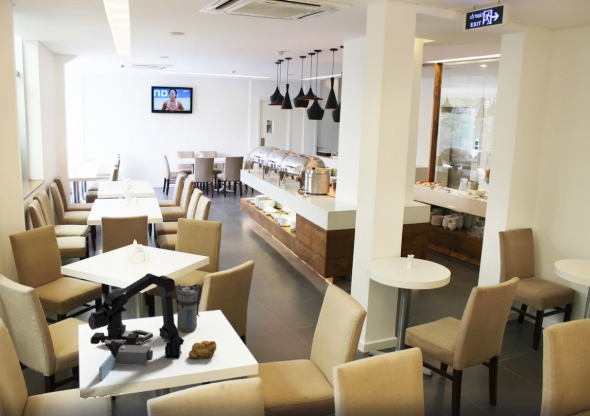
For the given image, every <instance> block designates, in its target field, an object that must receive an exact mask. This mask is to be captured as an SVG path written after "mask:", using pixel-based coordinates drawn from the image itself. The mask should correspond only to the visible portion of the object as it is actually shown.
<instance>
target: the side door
mask: <svg viewBox="0 0 590 416" xmlns="http://www.w3.org/2000/svg"><path fill="white" fill-rule="evenodd" d="M116 365H117V364H116V358H114V357H113V355H112V353H111V352H110V354H109V356H108V357H107V358H106V359H105V360H104V361H103V362H102V363H101V365H100V366H99V367H98V373H99V375H98V376H99V380H100V381H103V380H104V379H105V378H106V376H107V375H108V374H109V373H110V371H111V370H112V369H113V368H114V367H115V366H116Z"/></svg>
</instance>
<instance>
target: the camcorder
mask: <svg viewBox="0 0 590 416" xmlns="http://www.w3.org/2000/svg"><path fill="white" fill-rule="evenodd" d="M129 333H135V334H138V335H139V340H138V342H137V343H136V345H137V346H143V344H144V343H145V342H147V341H148V340H150V339H153V338H154V333H153V332H151V331H147V330H142V329H133V330H127V329H126V331H125V332H124V334H123V335H122V336H128V335H129ZM100 343H102V344H105V340H100ZM116 343H117V342H116V341H115V344H116ZM123 345H128V344H127V343H126V341H125V342H124V344H123Z"/></svg>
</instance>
